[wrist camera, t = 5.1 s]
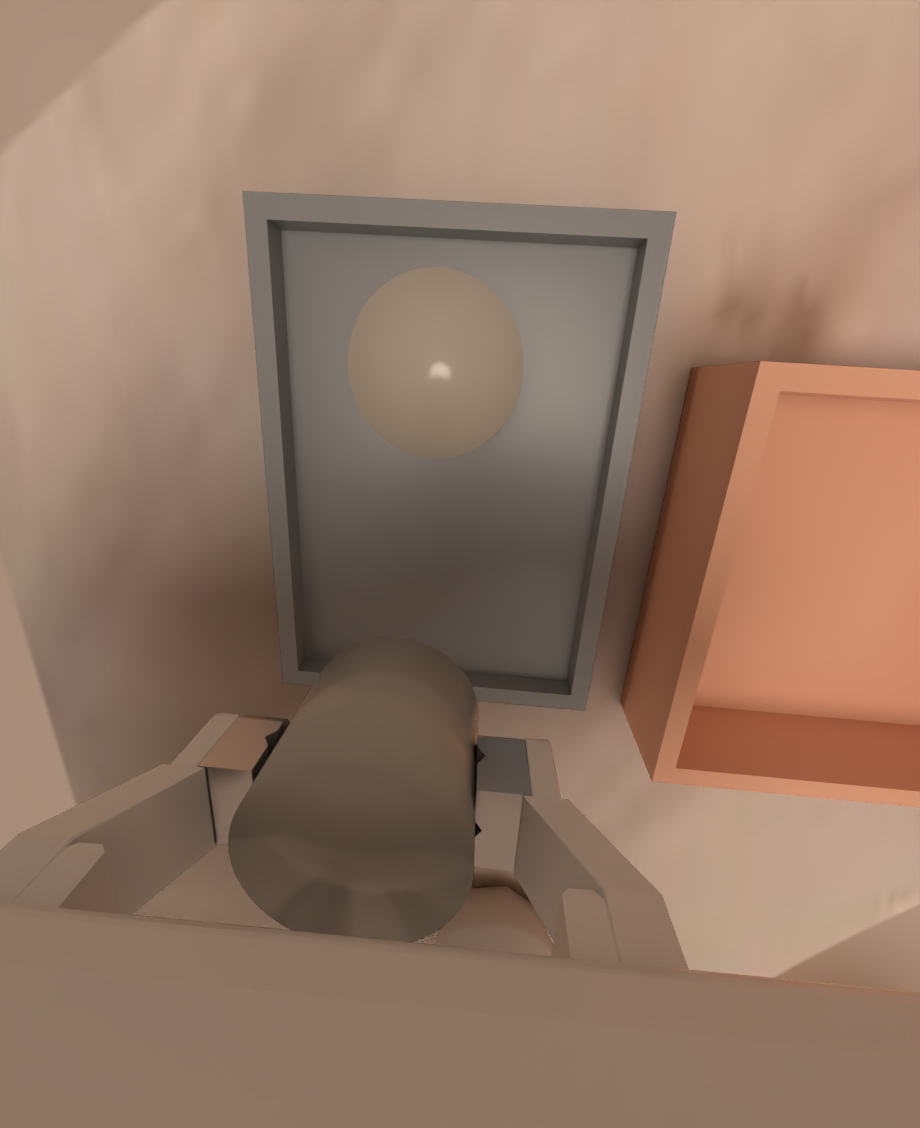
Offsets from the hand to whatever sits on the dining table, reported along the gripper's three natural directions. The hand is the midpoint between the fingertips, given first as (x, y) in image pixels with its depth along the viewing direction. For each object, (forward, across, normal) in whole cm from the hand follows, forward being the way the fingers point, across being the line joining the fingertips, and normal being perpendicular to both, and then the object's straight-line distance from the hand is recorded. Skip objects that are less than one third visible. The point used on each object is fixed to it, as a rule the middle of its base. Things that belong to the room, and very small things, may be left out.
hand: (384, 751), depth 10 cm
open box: (+8, +14, +2) cm, 16 cm away
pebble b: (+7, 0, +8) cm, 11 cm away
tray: (+8, 0, +4) cm, 9 cm away
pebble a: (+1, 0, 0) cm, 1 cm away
